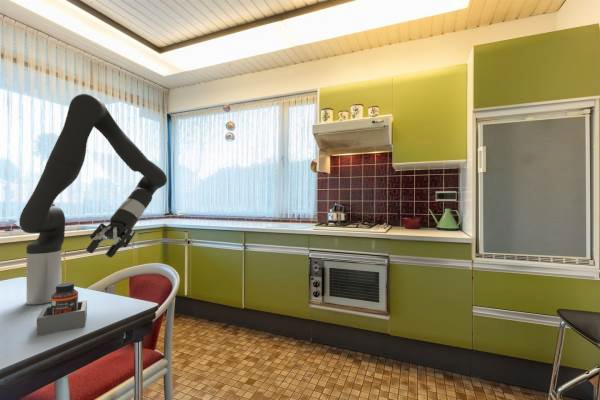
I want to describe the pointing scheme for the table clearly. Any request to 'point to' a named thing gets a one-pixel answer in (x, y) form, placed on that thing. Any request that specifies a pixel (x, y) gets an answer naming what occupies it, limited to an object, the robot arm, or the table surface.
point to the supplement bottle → (64, 299)
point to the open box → (61, 319)
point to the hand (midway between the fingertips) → (98, 254)
